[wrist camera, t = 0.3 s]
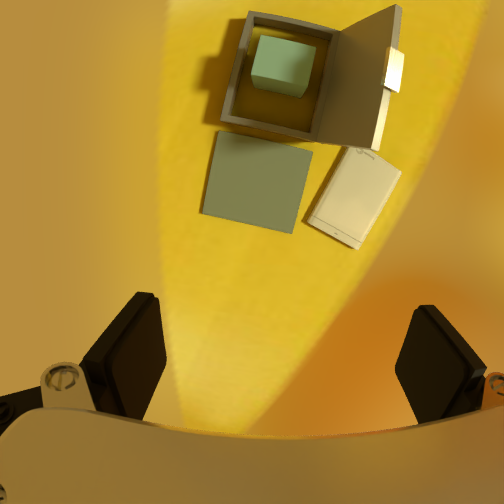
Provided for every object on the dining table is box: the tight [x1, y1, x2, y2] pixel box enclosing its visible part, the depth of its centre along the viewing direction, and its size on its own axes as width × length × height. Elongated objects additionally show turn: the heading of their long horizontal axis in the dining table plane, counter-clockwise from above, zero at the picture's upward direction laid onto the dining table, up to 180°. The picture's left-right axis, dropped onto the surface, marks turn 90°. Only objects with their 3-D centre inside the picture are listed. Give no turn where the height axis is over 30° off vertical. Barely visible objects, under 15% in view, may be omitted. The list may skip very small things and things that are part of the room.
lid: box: [316, 4, 404, 151], centre depth 25 cm, size 16×12×2 cm
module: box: [251, 35, 317, 98], centre depth 29 cm, size 5×6×7 cm
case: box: [220, 11, 340, 142], centre depth 31 cm, size 16×12×2 cm
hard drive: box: [307, 147, 402, 250], centre depth 37 cm, size 2×8×12 cm
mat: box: [202, 131, 313, 234], centre depth 37 cm, size 11×12×1 cm
